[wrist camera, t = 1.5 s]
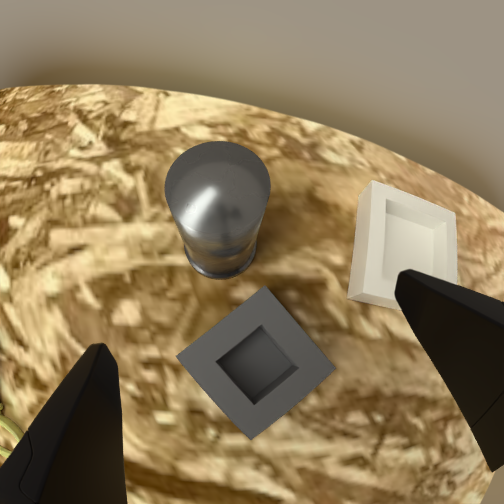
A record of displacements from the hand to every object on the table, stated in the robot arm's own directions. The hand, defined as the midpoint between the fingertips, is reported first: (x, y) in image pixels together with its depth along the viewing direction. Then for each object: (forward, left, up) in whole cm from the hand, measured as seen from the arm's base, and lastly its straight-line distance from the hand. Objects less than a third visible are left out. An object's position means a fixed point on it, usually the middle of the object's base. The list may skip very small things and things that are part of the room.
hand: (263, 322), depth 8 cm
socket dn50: (+14, -4, -12) cm, 19 cm away
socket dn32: (-1, -2, -12) cm, 13 cm away
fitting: (+3, +6, -12) cm, 14 cm away
